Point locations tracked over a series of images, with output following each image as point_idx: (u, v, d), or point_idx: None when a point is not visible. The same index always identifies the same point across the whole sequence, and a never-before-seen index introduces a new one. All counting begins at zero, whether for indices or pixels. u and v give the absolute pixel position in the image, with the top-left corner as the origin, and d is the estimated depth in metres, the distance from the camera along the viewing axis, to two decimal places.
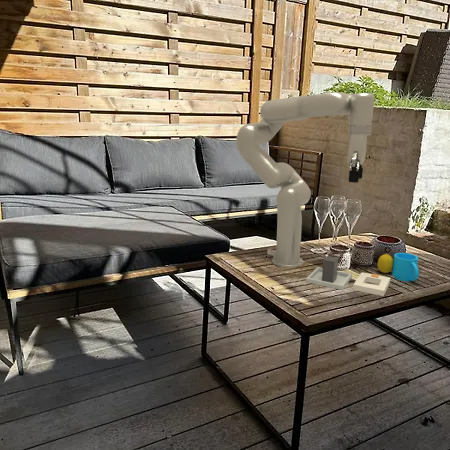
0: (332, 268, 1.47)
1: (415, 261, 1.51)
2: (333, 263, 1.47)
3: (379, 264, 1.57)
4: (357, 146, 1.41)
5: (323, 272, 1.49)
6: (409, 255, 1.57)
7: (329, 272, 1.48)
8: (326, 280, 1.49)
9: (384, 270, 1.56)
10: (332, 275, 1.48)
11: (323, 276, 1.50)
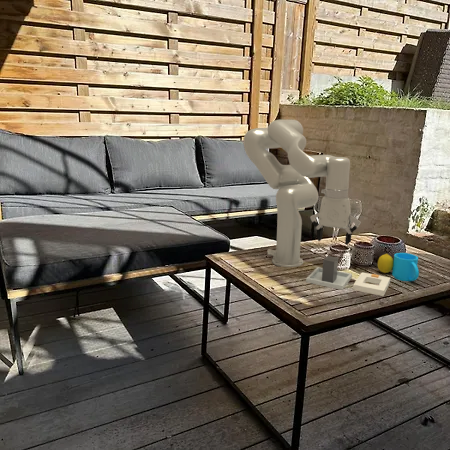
0: (332, 268, 1.47)
1: (415, 261, 1.51)
2: (333, 263, 1.47)
3: (379, 264, 1.57)
4: (350, 209, 1.42)
5: (323, 272, 1.49)
6: (409, 255, 1.57)
7: (329, 272, 1.48)
8: (326, 280, 1.49)
9: (384, 270, 1.56)
10: (332, 275, 1.48)
11: (323, 276, 1.50)
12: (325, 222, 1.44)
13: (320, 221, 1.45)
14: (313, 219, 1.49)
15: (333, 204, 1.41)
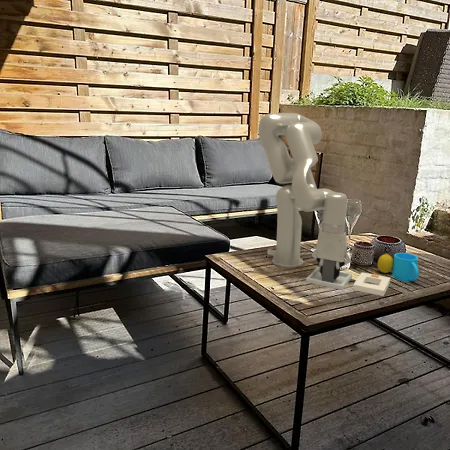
0: (332, 268, 1.47)
1: (415, 261, 1.51)
2: (333, 263, 1.47)
3: (379, 264, 1.57)
4: (346, 243, 1.46)
5: (323, 272, 1.49)
6: (409, 255, 1.57)
7: (329, 272, 1.48)
8: (326, 280, 1.49)
9: (384, 270, 1.56)
10: (332, 275, 1.48)
11: (323, 276, 1.50)
12: (322, 255, 1.48)
13: (317, 254, 1.49)
14: (315, 256, 1.51)
15: (330, 238, 1.45)
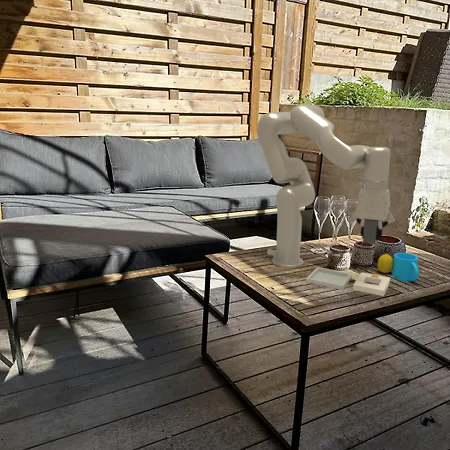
0: (374, 228, 1.38)
1: (415, 261, 1.51)
2: (375, 222, 1.38)
3: (379, 264, 1.57)
4: (389, 201, 1.37)
5: (364, 233, 1.40)
6: (409, 255, 1.57)
7: (371, 233, 1.39)
8: (368, 241, 1.40)
9: (384, 270, 1.56)
10: (374, 236, 1.39)
11: (364, 237, 1.41)
12: (363, 215, 1.39)
13: (358, 214, 1.40)
14: (355, 217, 1.43)
15: (372, 195, 1.36)
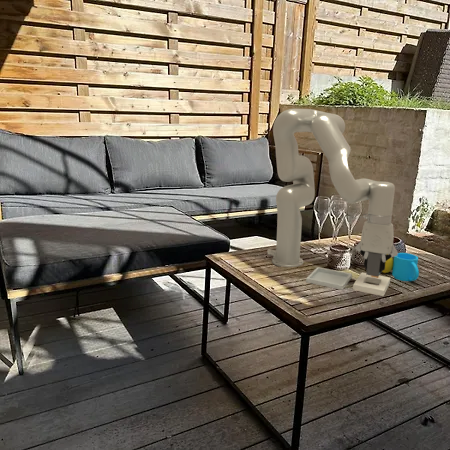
0: (378, 261, 1.41)
1: (415, 261, 1.51)
2: (379, 256, 1.40)
3: None
4: (393, 235, 1.39)
5: (368, 265, 1.43)
6: (409, 255, 1.57)
7: (374, 265, 1.42)
8: (371, 274, 1.43)
9: (384, 270, 1.56)
10: (378, 268, 1.41)
11: (368, 269, 1.43)
12: (367, 247, 1.41)
13: (362, 246, 1.42)
14: (359, 249, 1.45)
15: (376, 229, 1.38)
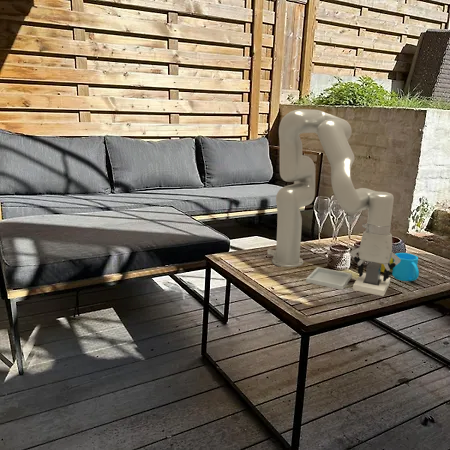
0: (376, 275, 1.42)
1: (415, 261, 1.51)
2: (377, 270, 1.42)
3: None
4: None
5: (366, 279, 1.44)
6: (409, 255, 1.57)
7: (372, 279, 1.43)
8: None
9: None
10: (376, 282, 1.43)
11: None
12: (366, 257, 1.42)
13: (360, 256, 1.43)
14: (354, 255, 1.46)
15: (375, 239, 1.39)
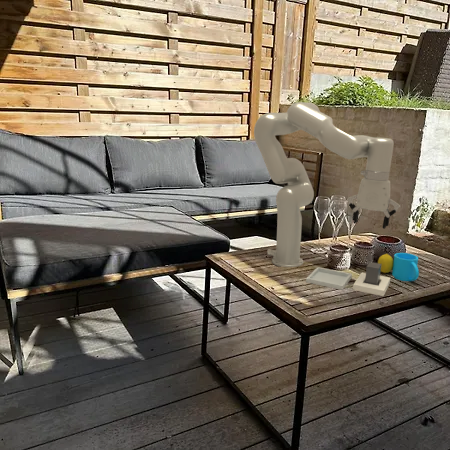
0: (376, 275, 1.42)
1: (415, 261, 1.51)
2: (377, 270, 1.42)
3: None
4: None
5: (366, 279, 1.44)
6: (409, 255, 1.57)
7: (372, 279, 1.43)
8: None
9: (384, 270, 1.56)
10: (376, 282, 1.43)
11: None
12: (363, 204, 1.41)
13: (358, 203, 1.42)
14: (350, 201, 1.45)
15: (373, 186, 1.38)
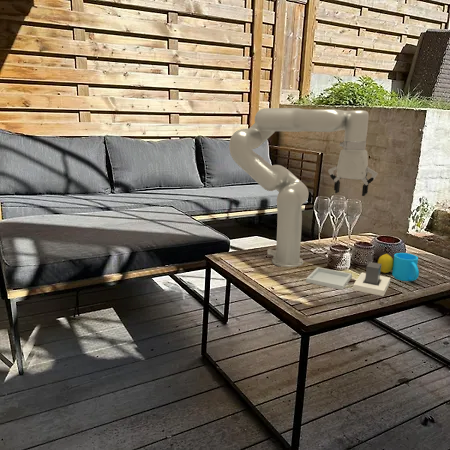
0: (376, 275, 1.42)
1: (415, 261, 1.51)
2: (377, 270, 1.42)
3: None
4: (367, 161, 1.47)
5: (366, 279, 1.44)
6: (409, 255, 1.57)
7: (372, 279, 1.43)
8: None
9: (384, 270, 1.56)
10: (376, 282, 1.43)
11: None
12: (343, 174, 1.50)
13: (338, 173, 1.51)
14: (331, 172, 1.54)
15: (351, 155, 1.47)
